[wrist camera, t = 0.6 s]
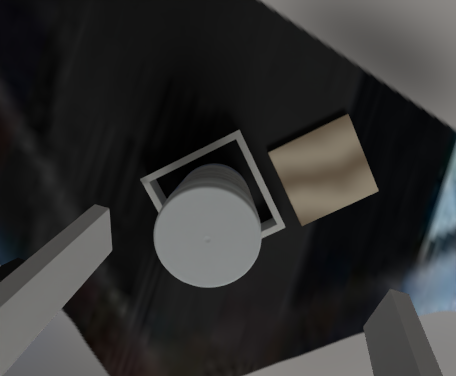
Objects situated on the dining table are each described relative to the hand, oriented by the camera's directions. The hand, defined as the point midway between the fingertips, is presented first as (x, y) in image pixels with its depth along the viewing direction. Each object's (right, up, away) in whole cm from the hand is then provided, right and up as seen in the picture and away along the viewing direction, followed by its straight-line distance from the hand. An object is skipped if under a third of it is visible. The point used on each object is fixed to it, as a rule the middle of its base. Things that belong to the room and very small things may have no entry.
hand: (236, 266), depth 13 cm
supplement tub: (-2, +2, +25) cm, 25 cm away
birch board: (+12, +6, +24) cm, 27 cm away
